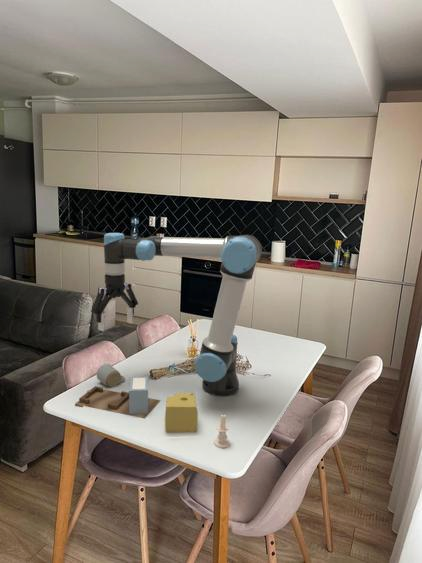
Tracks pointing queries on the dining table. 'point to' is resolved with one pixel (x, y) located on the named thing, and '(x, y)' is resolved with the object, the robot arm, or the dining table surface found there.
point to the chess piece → (222, 434)
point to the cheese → (181, 413)
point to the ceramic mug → (109, 375)
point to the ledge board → (111, 401)
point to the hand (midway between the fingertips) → (116, 326)
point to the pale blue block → (138, 395)
